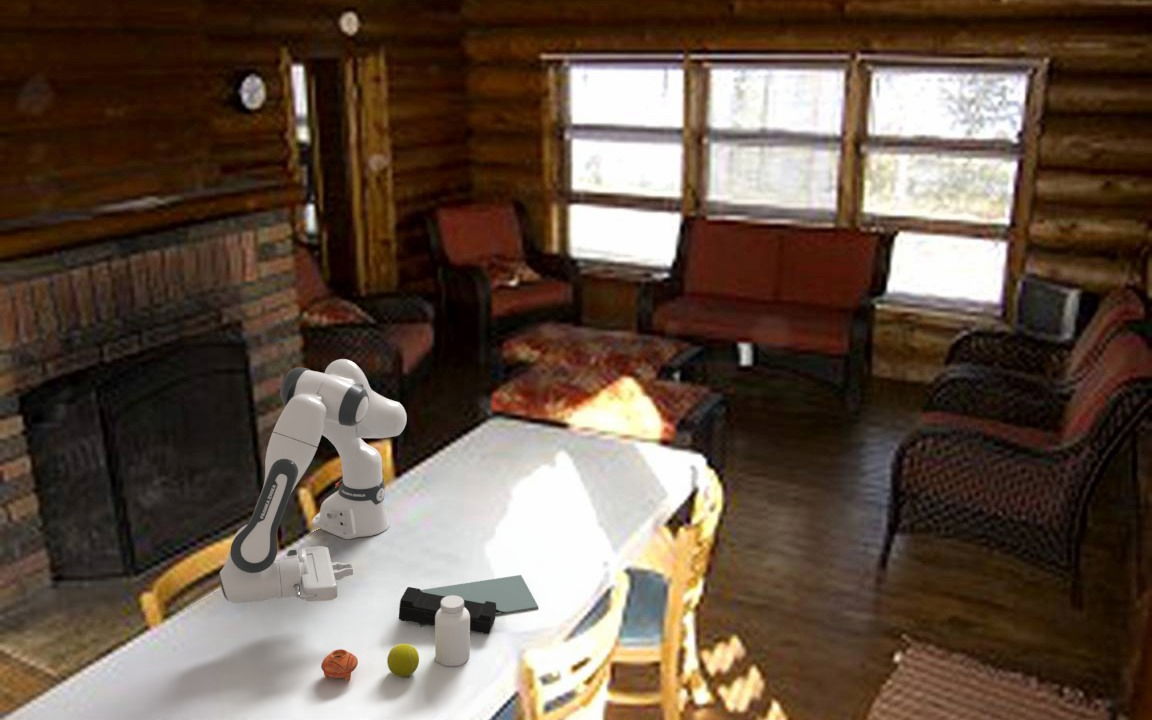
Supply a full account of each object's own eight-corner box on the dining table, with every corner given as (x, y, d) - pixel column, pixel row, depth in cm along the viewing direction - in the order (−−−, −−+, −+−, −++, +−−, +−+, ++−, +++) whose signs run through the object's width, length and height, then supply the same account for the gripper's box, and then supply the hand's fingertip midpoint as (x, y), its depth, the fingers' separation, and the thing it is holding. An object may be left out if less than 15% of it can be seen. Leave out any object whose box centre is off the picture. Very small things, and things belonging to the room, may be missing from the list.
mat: (419, 627, 247) (419, 625, 247) (408, 593, 262) (408, 591, 261) (538, 608, 257) (538, 606, 256) (521, 576, 271) (521, 574, 271)
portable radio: (396, 624, 246) (497, 643, 244) (398, 602, 244) (499, 621, 242) (406, 606, 254) (504, 625, 251) (407, 585, 252) (506, 603, 249)
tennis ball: (420, 664, 234) (420, 637, 231) (417, 683, 227) (416, 656, 225) (390, 663, 233) (389, 637, 231) (385, 682, 227) (384, 655, 224)
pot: (326, 691, 223) (322, 662, 222) (321, 678, 230) (317, 650, 229) (363, 682, 226) (359, 652, 225) (356, 669, 233) (352, 641, 232)
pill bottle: (455, 671, 231) (455, 614, 226) (428, 660, 235) (427, 603, 230) (477, 654, 237) (476, 598, 233) (450, 643, 241) (449, 587, 237)
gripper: (295, 587, 231) (357, 578, 235) (289, 545, 249) (346, 537, 253) (297, 611, 233) (358, 602, 237) (290, 568, 251) (347, 560, 255)
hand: (352, 568), depth 245 cm, fingers closed
